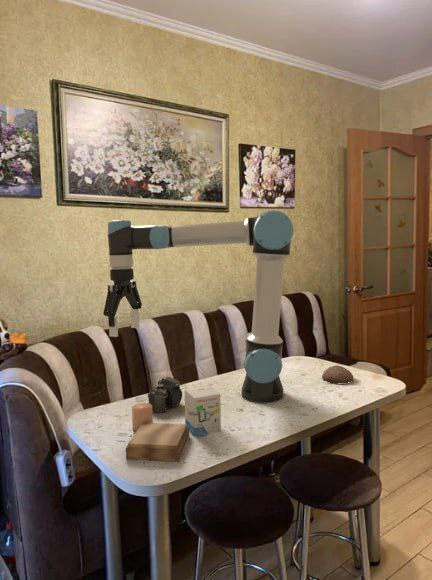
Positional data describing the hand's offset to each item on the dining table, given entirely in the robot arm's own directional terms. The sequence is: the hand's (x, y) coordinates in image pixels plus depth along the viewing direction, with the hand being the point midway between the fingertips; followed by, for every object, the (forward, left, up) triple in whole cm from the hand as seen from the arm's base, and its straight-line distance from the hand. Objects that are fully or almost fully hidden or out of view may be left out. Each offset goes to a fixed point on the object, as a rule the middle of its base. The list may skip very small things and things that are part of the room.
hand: (125, 331), depth 145 cm
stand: (-18, +27, -26) cm, 41 cm away
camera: (-13, -2, -27) cm, 30 cm away
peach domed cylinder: (-10, +16, -26) cm, 32 cm away
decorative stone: (-74, -35, -27) cm, 86 cm away
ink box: (-28, +14, -26) cm, 41 cm away
